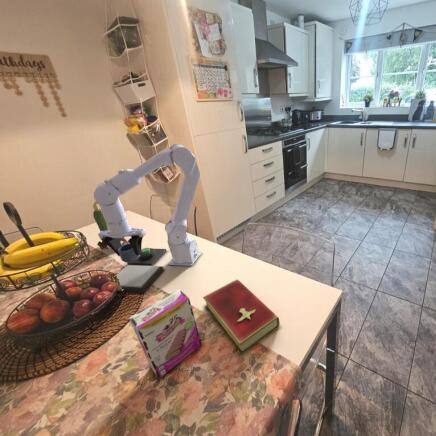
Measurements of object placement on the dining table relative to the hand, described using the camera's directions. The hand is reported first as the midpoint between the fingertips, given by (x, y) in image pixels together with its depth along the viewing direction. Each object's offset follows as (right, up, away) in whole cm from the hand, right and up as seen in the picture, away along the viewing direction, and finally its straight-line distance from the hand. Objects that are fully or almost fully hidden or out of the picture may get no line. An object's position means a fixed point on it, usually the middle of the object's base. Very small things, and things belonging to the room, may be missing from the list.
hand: (130, 254), depth 86 cm
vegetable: (-26, +11, +21) cm, 35 cm away
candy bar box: (+29, -21, -26) cm, 44 cm away
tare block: (-1, -3, +12) cm, 13 cm away
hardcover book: (+42, -16, -15) cm, 48 cm away
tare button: (-1, -1, +11) cm, 11 cm away
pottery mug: (-20, 0, +22) cm, 30 cm away
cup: (0, -1, +1) cm, 2 cm away
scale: (+2, -9, 0) cm, 9 cm away
